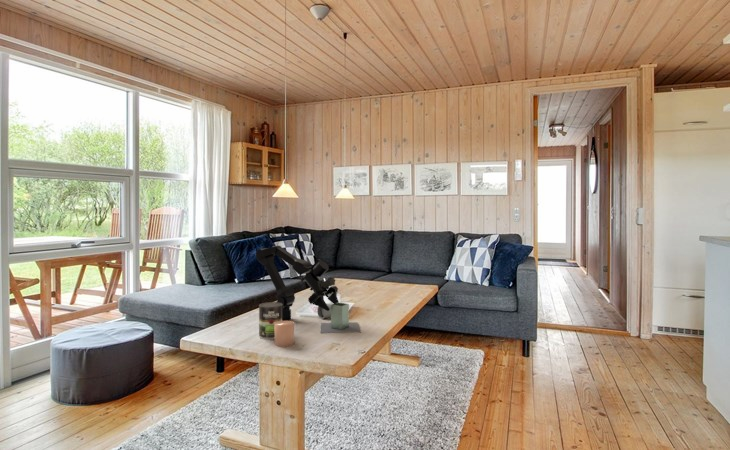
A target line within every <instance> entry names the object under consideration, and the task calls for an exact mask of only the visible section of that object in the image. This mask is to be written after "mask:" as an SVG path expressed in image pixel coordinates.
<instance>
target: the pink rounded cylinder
mask: <svg viewBox="0 0 730 450" xmlns="http://www.w3.org/2000/svg"><path fill="white" fill-rule="evenodd" d="M274 332H275V338H274V345H275V346H276V347H282V348H283V347H290V346H292V345H294V344H295V322H294V321H291V320H289V321H278V322H276V323H275V324H274Z"/></svg>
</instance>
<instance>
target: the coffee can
mask: <svg viewBox="0 0 730 450" xmlns="http://www.w3.org/2000/svg"><path fill="white" fill-rule="evenodd" d="M282 306H283V304H282V303H279V302H276V301H268V302H263V303H259V305H258V312H259V313H258V322H259V323H258V331H259V332H258V337H259V338H260V339H275V332H274V324H275V323H276V322H278V321H282Z"/></svg>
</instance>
